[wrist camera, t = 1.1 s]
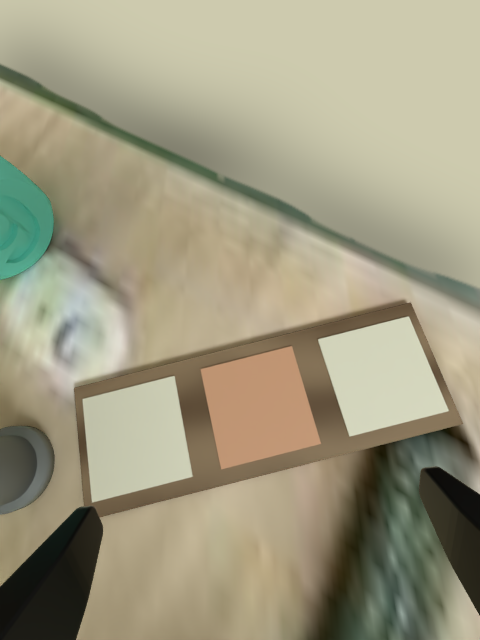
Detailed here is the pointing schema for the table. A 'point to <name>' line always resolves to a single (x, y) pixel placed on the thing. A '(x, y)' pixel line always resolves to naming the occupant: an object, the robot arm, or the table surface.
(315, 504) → the table surface
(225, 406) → the game board
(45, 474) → the pawn
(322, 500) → the table surface
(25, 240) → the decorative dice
